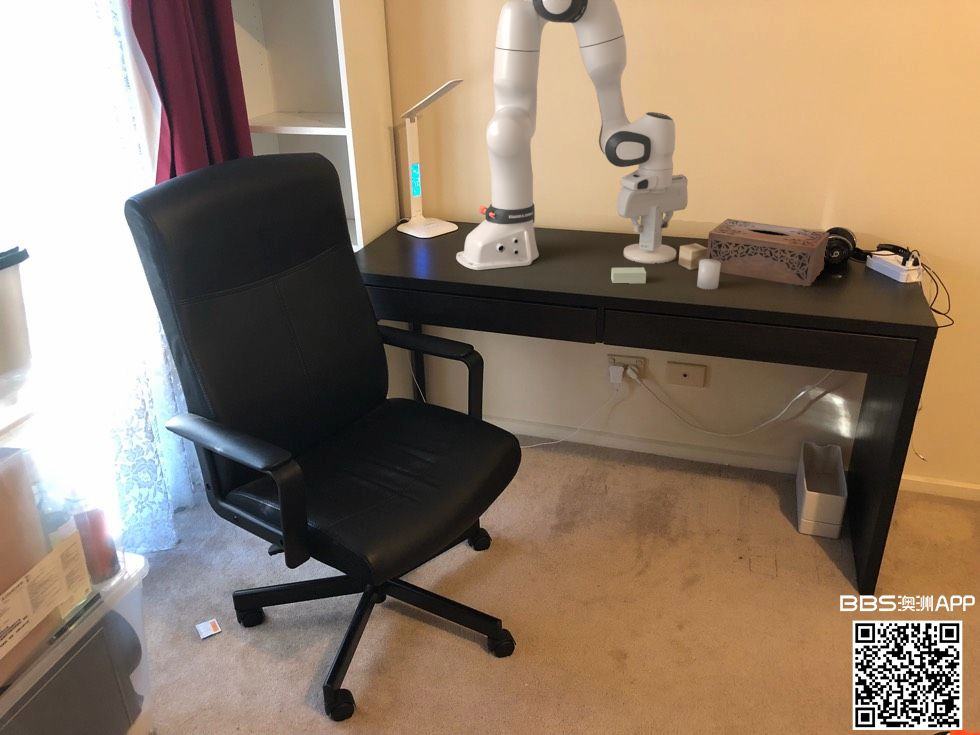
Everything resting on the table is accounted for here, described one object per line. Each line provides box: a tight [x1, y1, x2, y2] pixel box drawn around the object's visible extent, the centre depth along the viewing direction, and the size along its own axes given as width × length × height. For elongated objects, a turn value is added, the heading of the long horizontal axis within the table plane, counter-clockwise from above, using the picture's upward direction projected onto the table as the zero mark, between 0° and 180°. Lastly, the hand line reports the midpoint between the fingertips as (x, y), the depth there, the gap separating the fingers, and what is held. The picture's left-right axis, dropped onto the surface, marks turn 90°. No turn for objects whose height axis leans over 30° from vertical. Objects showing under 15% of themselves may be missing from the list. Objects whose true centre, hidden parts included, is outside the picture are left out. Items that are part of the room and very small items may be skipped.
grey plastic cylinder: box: [696, 259, 721, 291], centre depth 194 cm, size 5×5×6 cm
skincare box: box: [638, 204, 664, 251], centre depth 213 cm, size 6×4×12 cm
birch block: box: [678, 242, 707, 270], centre depth 208 cm, size 5×5×5 cm
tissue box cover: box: [706, 218, 830, 287], centre depth 203 cm, size 26×14×10 cm, turn 57°
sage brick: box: [610, 266, 647, 284], centre depth 199 cm, size 8×4×3 cm, turn 89°
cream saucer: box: [623, 243, 677, 265], centre depth 217 cm, size 14×14×1 cm
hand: (651, 229), depth 214 cm, fingers closed on skincare box, 7 cm apart
